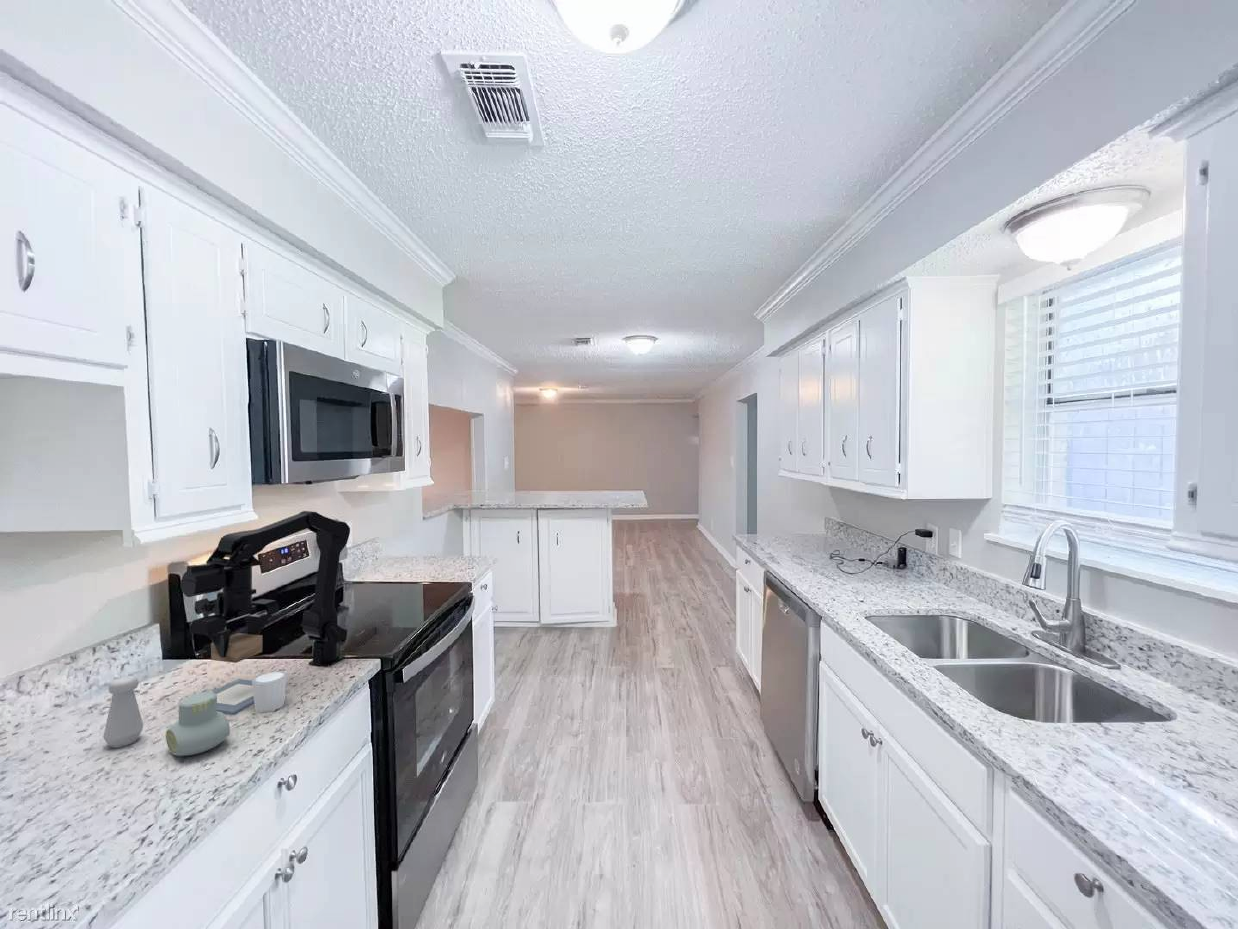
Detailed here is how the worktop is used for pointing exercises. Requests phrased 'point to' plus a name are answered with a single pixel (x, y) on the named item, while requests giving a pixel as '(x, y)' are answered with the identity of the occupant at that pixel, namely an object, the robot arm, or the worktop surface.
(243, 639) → the walnut block
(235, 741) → the worktop surface
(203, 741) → the air freshener
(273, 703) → the white cup
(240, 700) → the board
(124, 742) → the salt shaker
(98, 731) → the worktop surface
